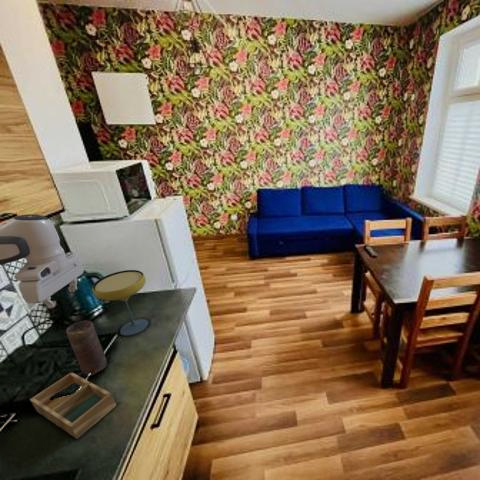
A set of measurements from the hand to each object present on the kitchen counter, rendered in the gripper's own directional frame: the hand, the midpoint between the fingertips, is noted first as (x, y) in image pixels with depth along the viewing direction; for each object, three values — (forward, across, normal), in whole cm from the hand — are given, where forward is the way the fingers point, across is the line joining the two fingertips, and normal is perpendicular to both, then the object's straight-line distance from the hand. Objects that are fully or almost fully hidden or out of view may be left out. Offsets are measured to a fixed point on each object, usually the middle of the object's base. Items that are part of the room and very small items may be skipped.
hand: (63, 298), depth 92 cm
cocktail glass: (+30, -19, +7) cm, 36 cm away
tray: (+30, +20, +8) cm, 36 cm away
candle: (+30, +4, +5) cm, 30 cm away
